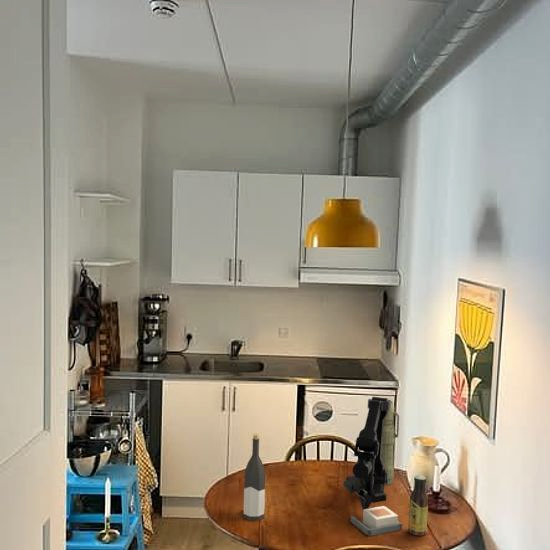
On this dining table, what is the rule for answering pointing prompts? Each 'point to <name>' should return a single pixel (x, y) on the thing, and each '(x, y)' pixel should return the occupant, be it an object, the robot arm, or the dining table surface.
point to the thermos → (389, 442)
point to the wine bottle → (254, 485)
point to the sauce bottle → (418, 507)
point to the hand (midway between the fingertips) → (364, 511)
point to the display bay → (378, 529)
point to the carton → (379, 517)
